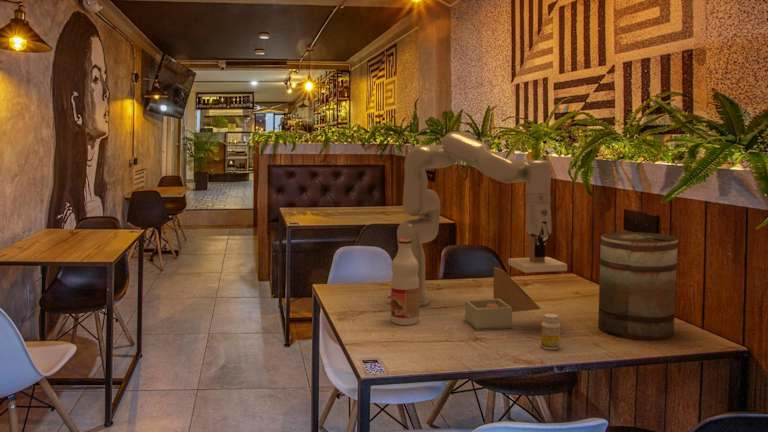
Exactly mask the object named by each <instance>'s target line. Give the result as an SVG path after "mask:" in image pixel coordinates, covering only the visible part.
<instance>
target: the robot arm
mask: <svg viewBox="0 0 768 432" xmlns="http://www.w3.org/2000/svg"><path fill="white" fill-rule="evenodd" d="M461 161H462V162H464V163H466V164H468V165H471V166H472V167H475V168H476V169H477V170H478V171H479V172H480V173H481V174H483V175H485V176H487V177H488V178H491V179H493V180H496V181H498V182H500V183H503V184H513V183H514V184H515V183H516V184H518V183H524V182H526V183H525V204H526V213H525V214H526V216H525V228H526V229H525V230H526V232H527V234H528V237H529V238H528V241H529V243H530V236H536V245H535V257H546V243H547V239H549V236H550V235H551V234H552V210H551V181H552V180H551V176H552V175H551V173H552V172H551V171H552V170H551V169H552V165H551V162H550V161H549V160H545V159H533V160H532V159H531V160H529V159H522V158H518V159H517V158H515V159H514V158H513V159H512V158H511V159H507V158H505V157H501V156H499V155H497V154H494V153H492V152H491V150H490V146H489V145H488V144H487V143H485V142H482V141H480V140H478V139H477V138H476V136H475V135H474V134H472V133H471V132H468V131H451V132H448V133H447V134H445V135H444V136H443V138H442V139H441V144H423V145H418V146H416V147H413V148H412V149H410V150H409V151H408V153H407V154H406V156H405V159H404V183H403V193H402V194H403V197H402V209H403V212H404V213H405V214H406V215H407V216H410V217H416V218H412V219H407V220H406V219H405V220H404V221H402V222H401V223H400V224H399V225H398V226H397V229H396V237H397V240H398V239H412V245H411V249H412V253H413V255H414V257H415V258H416V260H417V261H418V265H419V268H418V272H417V276H418V279H419V307H424V306H427V305H429V304H430V299H428V298H427V297H426V255H425V251H424V248H423V245H422V244H425V243H429V242H432V241H433V240H435V239H436V238H437V235H438V233H439V225H440V216H441V215H440V214H441V200H440V197H439V195H438V194H437V192H436V191H435V190H433V189H429V188H428V183H429V182H428V174H427V172H426V170H427V169H429V170H431V169H445V168H447V167H451V166H453V165H455V164H457V163H459V162H461ZM539 237H540V239H539ZM528 254H529V255H530V252H529V253H528ZM386 298H387V299H388V300H389V299H391V292H388V293H387V294H386Z"/></svg>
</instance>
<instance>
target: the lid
mask: <svg viewBox="0 0 768 432" xmlns="http://www.w3.org/2000/svg"><path fill="white" fill-rule="evenodd" d="M539 239H540V237H539ZM535 245H536V235H535V236H530V242H529V253H530V254H529V257H515V258H513V257H512V258H511V257H510V258H508V259H507V263H508V264H507V265H509V266H511V267H512V268H515V269H516V270H518V271H520V272H523V273H527V274H528V273H542V272H545V273H546V272H548V273H549V272H565V271H568V264H567V263H564V262H563V261H560V260H557V259H555V258H552V257H549V256H545V257H535Z"/></svg>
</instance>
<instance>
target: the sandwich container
mask: <svg viewBox="0 0 768 432" xmlns="http://www.w3.org/2000/svg"><path fill="white" fill-rule="evenodd" d="M493 299H500V300H502V301H503V302H505V303H506V304H508V305H509V306H511V307H512V312H520V311H521V312H522V311H529V310H530V311H531V310H541V309H542V308H541V307H540V306H539V305H538V304H537V303H536V302H535V301H534V300H533V299H532V298H531V297H530V296H529V294H528V293H526V291H524V289H523V288H521V287H520V286H519V284H518V283H517V282H516V281H514V279H513V278H512V277H511V276H510V275H509V274H508V273H507V272H506V271H505V270H504V269H501V268H499V267H496V266H494V267H493Z"/></svg>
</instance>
